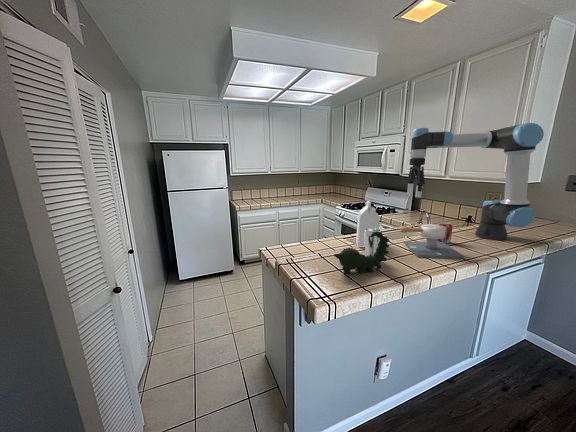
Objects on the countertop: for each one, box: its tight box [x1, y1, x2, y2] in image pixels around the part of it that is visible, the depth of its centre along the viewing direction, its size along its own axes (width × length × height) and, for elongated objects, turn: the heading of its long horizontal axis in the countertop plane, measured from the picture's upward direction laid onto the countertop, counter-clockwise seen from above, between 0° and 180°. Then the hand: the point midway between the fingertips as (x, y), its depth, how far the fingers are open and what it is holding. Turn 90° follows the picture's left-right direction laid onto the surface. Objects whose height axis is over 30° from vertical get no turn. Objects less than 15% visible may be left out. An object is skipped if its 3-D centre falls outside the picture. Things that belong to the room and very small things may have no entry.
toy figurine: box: [333, 231, 390, 274], centre depth 100 cm, size 9×19×25 cm
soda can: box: [437, 221, 453, 245], centre depth 134 cm, size 7×7×12 cm
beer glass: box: [364, 228, 380, 256], centre depth 113 cm, size 7×7×15 cm
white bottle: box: [400, 223, 446, 239], centre depth 121 cm, size 22×11×5 cm, turn 81°
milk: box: [355, 200, 380, 247], centre depth 133 cm, size 12×12×26 cm
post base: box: [403, 237, 465, 260], centre depth 122 cm, size 21×21×8 cm
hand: (413, 195), depth 130 cm, fingers open, 13 cm apart
